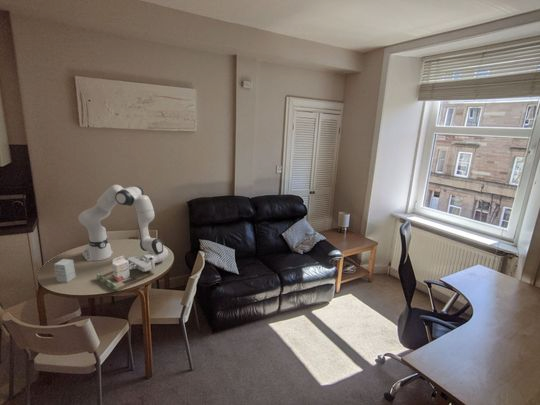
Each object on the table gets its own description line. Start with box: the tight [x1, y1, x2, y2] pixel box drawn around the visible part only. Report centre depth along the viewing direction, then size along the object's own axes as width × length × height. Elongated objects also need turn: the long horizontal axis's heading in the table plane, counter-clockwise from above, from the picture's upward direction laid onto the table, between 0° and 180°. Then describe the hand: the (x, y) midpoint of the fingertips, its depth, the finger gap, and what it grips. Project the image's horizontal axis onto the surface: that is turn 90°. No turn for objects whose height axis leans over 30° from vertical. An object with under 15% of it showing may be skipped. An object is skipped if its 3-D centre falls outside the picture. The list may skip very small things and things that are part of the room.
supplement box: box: [53, 258, 77, 284], centre depth 184 cm, size 7×7×13 cm
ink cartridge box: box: [111, 254, 131, 282], centre depth 189 cm, size 9×5×15 cm, turn 148°
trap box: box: [96, 270, 155, 292], centre depth 192 cm, size 23×26×4 cm
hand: (128, 267), depth 192 cm, fingers closed, pressing on ink cartridge box
